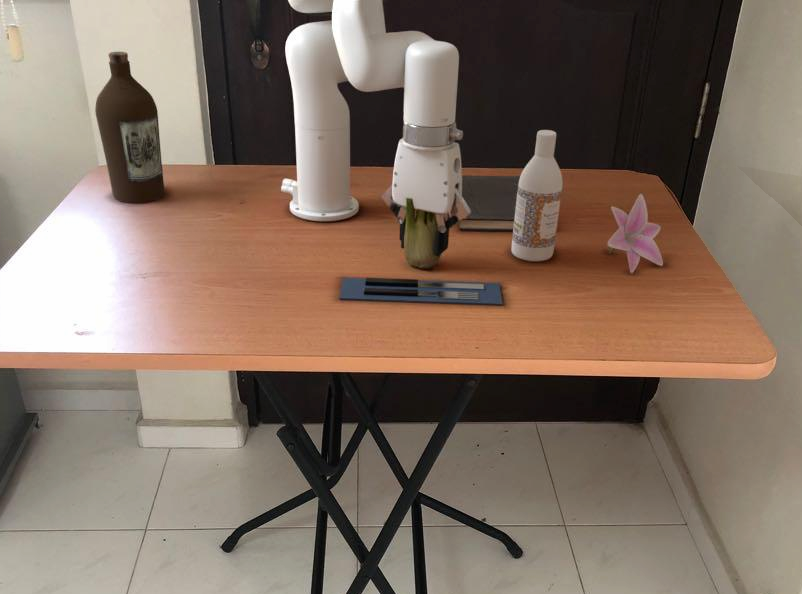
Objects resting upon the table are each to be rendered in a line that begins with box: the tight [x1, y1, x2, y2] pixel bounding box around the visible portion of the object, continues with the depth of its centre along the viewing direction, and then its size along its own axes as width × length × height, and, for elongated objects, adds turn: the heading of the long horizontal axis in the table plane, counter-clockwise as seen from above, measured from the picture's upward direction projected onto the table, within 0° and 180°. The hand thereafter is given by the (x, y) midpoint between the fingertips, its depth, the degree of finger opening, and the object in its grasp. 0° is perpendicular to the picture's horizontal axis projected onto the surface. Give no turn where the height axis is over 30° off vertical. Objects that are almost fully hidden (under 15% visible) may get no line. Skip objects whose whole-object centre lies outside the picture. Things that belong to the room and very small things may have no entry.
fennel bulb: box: [404, 197, 442, 270], centre depth 130 cm, size 6×5×12 cm
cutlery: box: [364, 277, 484, 300], centre depth 125 cm, size 18×5×1 cm, turn 88°
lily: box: [607, 193, 664, 274], centre depth 135 cm, size 12×12×10 cm
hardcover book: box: [453, 174, 521, 233], centre depth 155 cm, size 16×23×2 cm
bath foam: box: [510, 129, 564, 262], centre depth 132 cm, size 7×7×20 cm
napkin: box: [339, 277, 503, 306], centre depth 125 cm, size 24×7×1 cm, turn 88°
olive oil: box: [94, 51, 165, 204], centre depth 149 cm, size 11×11×25 cm
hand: (423, 248), depth 132 cm, fingers closed on fennel bulb, 5 cm apart
